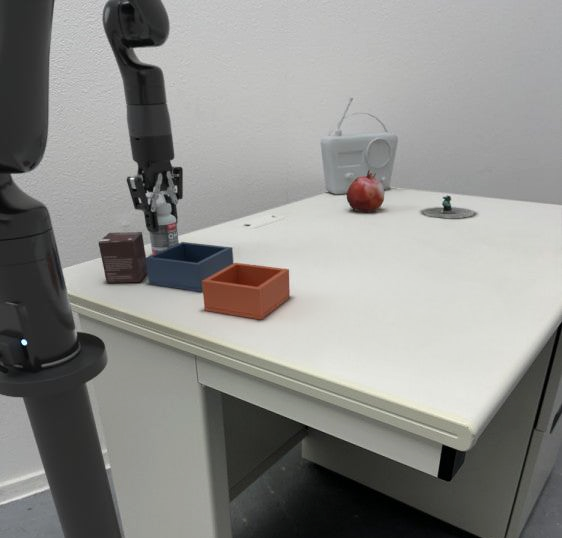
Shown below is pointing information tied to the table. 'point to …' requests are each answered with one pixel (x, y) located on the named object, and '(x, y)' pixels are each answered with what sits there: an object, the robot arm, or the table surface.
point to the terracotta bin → (246, 290)
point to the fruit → (365, 193)
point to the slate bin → (187, 265)
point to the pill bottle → (164, 229)
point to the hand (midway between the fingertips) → (162, 227)
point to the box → (123, 257)
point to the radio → (357, 156)
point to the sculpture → (448, 210)
